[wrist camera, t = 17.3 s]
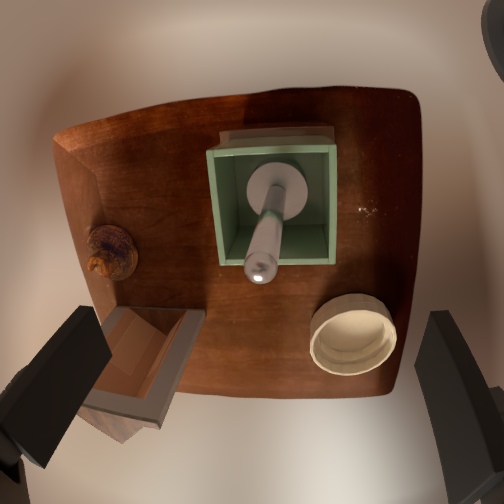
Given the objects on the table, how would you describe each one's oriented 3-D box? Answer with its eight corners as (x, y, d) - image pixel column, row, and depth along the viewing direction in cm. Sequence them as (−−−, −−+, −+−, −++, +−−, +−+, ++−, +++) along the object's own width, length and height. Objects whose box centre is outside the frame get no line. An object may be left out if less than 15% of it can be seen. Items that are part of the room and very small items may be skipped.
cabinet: (204, 309, 62) (156, 423, 37) (212, 345, 66) (175, 455, 41) (116, 305, 66) (49, 395, 41) (129, 338, 70) (73, 429, 45)
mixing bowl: (395, 289, 55) (403, 308, 50) (382, 353, 62) (387, 372, 57) (310, 291, 58) (311, 311, 52) (308, 355, 64) (308, 376, 59)
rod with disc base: (306, 156, 31) (319, 217, 14) (307, 211, 34) (316, 322, 17) (248, 158, 32) (193, 221, 15) (252, 213, 35) (209, 320, 18)
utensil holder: (321, 120, 45) (347, 133, 22) (323, 195, 50) (344, 273, 27) (242, 124, 46) (193, 140, 24) (249, 197, 51) (211, 274, 29)
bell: (149, 247, 58) (132, 265, 51) (125, 286, 63) (109, 306, 56) (102, 211, 56) (81, 225, 50) (83, 253, 61) (64, 270, 55)
